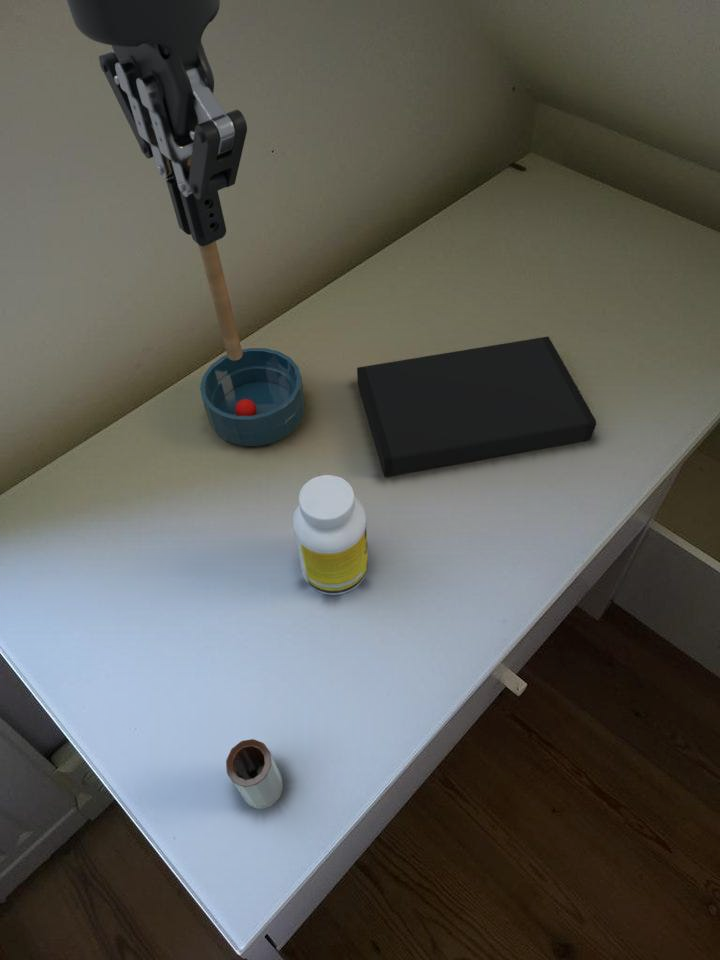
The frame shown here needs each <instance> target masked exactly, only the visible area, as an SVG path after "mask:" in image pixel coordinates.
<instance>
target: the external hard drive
mask: <svg viewBox="0 0 720 960" xmlns="http://www.w3.org/2000/svg"><path fill="white" fill-rule="evenodd" d="M356 375H357V377H356V378H357V388H358V391H359V394H360V398H361V401H362V405H363V408H364V412H365V415H366V419H367V423H368V426H369V430H370V433H371V436H372V440H373V443H374V447H375V450H376V454H377V457H378V461H379V464H380V467H381V471H382V474H383V477H384V478H385V477H392V476H397V475H402V474H407V473H408V474H409V473H412V472H419V471H424V470H430V469H434V468H441V467H446V466H452V465H457V464H462V463H463V464H464V463H469V462H473V461H479V460H485V459H491V458H495V457H501V456H507V455H513V454H518V453H524V452H528V451H529V452H530V451H535V450H540V449H546V448H551V447H557V446H563V445H568V444H575V443H580V442H585V441H590V440H591V439H592V437H593V435H594V431H595V429H596V426H597V420H596V418H595V416H594V415H593V412H592V411H591V409H590V408H589V406H588V404H587V402H586V401H585V399H584V397H583V395H582V393H581V392H580V389H579V388H578V386H577V384H576V382H575V380H574V379H573V377H572V376H571V373H570V372H569V370H568V368H567V366H566V365H565V363H564V361H563V359H562V358H561V356H560V354H559V351H557V349H556V347H555V345H554V344H553V341H552V340H551V338H550V336H541V337H536V338H529V339H522V340H518V341H512V342H511V341H510V342H506V343H505V342H504V343H500V344H499V343H498V344H493V345H487V346H481V347H473V348H468V349H463V350H455V351H451V352H443V353H438V354H431V355H426V356H419V357H412V358H407V359H401V360H395V361H390V362H383V363H379V364H378V363H376V364H370V365H365V366H359V367H358V366H357V367H356Z"/></svg>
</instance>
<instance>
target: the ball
mask: <svg viewBox="0 0 720 960" xmlns="http://www.w3.org/2000/svg"><path fill="white" fill-rule="evenodd" d="M256 411H257V409H256V405H255V404H254V402H252V401H251V400H248V399H243V400H240V401H239V402H238V403H237V404H236V406H235V413H236V415H237V416H253V415H256Z"/></svg>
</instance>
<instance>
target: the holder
mask: <svg viewBox="0 0 720 960" xmlns="http://www.w3.org/2000/svg"><path fill="white" fill-rule="evenodd" d="M225 766H226V767H225V769H226V774H227V776H228V777H229V779H230V780H231V782H232V783H233V784H234V786H235V788H236V789H237V790H238V792H239V793H240V795H241V797H242V798H243V799H244V801H245V802H246V804H248V805H249V806H250V807H251V808H254V809H258V810H264V809H268V808H270V807H272V806H273V805H275V804H276V803H277V802H278V800H279V799H280V797H281V795H282V792H283V788H284V785H283V783H284V782H283V778H282V775H281V772H280V770H279V768H278V766H277V764H276V762H275V759H274V757H273V755H272V753H271V750H269V747H268V746H267V745H266V743H264V742H262V741H260V740H257V739H254V738H251V739H250V738H249V739H245V740H244V739H243V740H241V741H239V743H237V744H236V745H234V746H233V747H232V748H231V749H230V751H229V753H228V756H227V758H226V760H225Z"/></svg>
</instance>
